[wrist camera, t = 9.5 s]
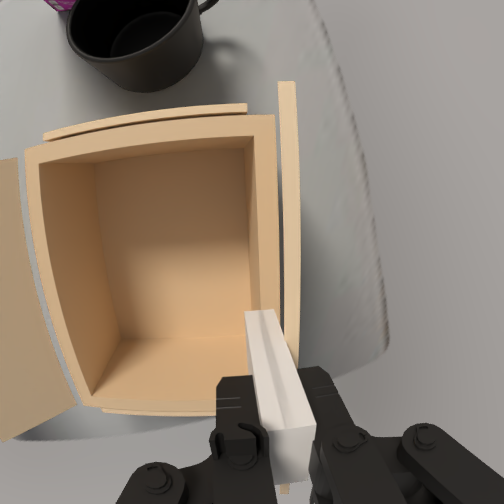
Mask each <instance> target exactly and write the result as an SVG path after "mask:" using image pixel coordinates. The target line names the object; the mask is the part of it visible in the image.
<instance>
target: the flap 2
mask: <svg viewBox="0 0 504 504" xmlns="http://www.w3.org/2000/svg"><path fill="white" fill-rule="evenodd" d="M278 96H279V115H280V136H281V161H282V190H283V230H284V341H286V343H287V346H288V348H289V351H290V354H291V356H292V359H293V362H294V365H295V367H296V369H298V355H299V327H300V273H301V229H300V176H299V147H298V125H297V106H296V90H295V81H280V82H278ZM289 485H290V483H288V484H280V494H289Z"/></svg>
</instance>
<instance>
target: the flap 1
mask: <svg viewBox="0 0 504 504" xmlns="http://www.w3.org/2000/svg"><path fill="white" fill-rule="evenodd" d="M75 405H77V403H76V401H75V399H74V397H73V395H72V392H71V390H70V388H69V386H68V383H67V381H66V379H65V376H64V374H63V371H62V369H61V366H60V364H59V361H58V358H57V356H56V353H55V350H54V347H53V345H52V342H51V339H50V336H49V333H48V330H47V327H46V323H45V320H44V317H43V314H42V310H41V307H40V303H39V299H38V295H37V292H36V288H35V284H34V279H33V275H32V270H31V266H30V261H29V256H28V251H27V245H26V239H25V233H24V226H23V219H22V211H21V202H20V192H19V179H18V158H11V159H5V160H0V439H1V441H2V442H5V441H7V440H9V439H11V438H13V437H15V436H17V435H19V434H21V433H23V432H25V431H27V430H29V429H31V428H33V427H35V426H37V425H39V424H41V423H43V422H45V421H47V420H49V419H51V418H53V417H55V416H57V415H58V414H60V413H62V412H64V411H66V410H68V409H70V408H72V407H74V406H75Z"/></svg>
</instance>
